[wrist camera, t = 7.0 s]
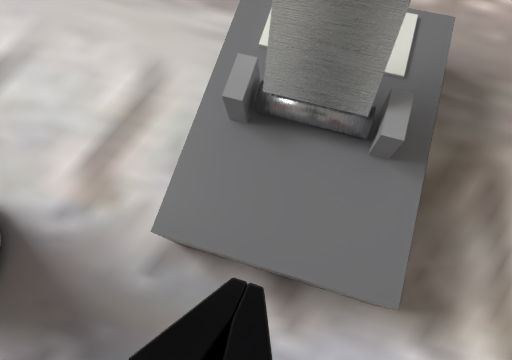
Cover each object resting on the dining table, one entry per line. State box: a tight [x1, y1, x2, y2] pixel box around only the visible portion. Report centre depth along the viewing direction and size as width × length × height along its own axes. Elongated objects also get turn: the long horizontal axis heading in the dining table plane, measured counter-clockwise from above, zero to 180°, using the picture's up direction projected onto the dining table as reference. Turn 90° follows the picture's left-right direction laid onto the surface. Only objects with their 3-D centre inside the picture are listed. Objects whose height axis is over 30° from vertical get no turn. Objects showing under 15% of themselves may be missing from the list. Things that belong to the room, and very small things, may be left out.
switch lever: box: [255, 0, 411, 139], centre depth 14 cm, size 3×6×11 cm, turn 74°
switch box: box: [151, 0, 455, 310], centre depth 20 cm, size 16×12×6 cm
